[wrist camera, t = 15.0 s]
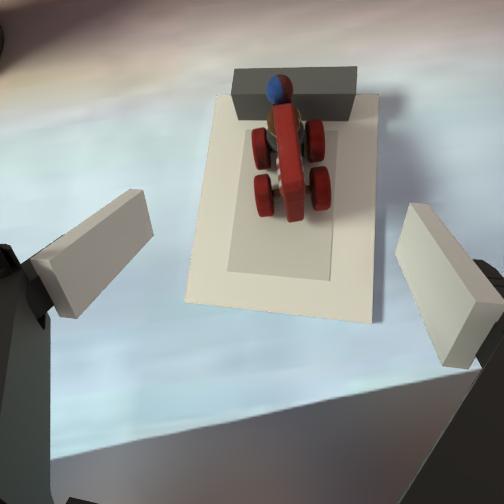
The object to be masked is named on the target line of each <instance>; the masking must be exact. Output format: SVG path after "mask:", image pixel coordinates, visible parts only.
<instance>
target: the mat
mask: <svg viewBox="0 0 504 504" xmlns="http://www.w3.org/2000/svg"><path fill="white" fill-rule="evenodd" d="M378 109H379V94H356V96H355V99H354V103H353V107H352V110H351V114H350V117H349V121H322V122H323V126H324V134H325V157H324V160H323V161H321V162H315V163H309V161H308V159H307V156H302V162H303V170H304V177H305V184H306V185H309V172H310V169H311V168H313V167H319V166H326V167H327V169H328V172H329V176H330V182H331V195H332V196H331V207H330V208H329V209H328V210H322V211H315V210H314V209H313V206H312V202H311V195H309V196H305V199H304V219H303V220H302V221H297V222H291V223H289V222H288V221H287V215H286V209H285V203H284V199H279V200H274V215H273V216H268V217H260V216H259V214H258V211H257V207H256V201H255V194H254V177H255V176H257V175H261V174H268V175H269V177H270V179H271V185H272V190H275V189H279V183H278V173H277V163H276V159H277V156H278V152H276V153H270V156H271V168H269V169H264V170H258V169H257V168H256V166H255V161H254V156H253V149H252V140H251V132H252V130H253V129H256V128H261V127H264V128H266V130H267V129H268V126H267V121H255V120H238V118H237V114H236V111H235V107H234V104H233V100H232V97H231V95H217V96H216V103H215V109H214V115H213V122H212V128H211V134H210V141H209V147H208V153H207V160H206V166H205V173H204V179H203V185H202V192H201V198H200V204H199V211H198V217H197V223H196V230H195V236H194V243H193V249H192V255H191V262H190V268H189V274H188V281H187V287H186V293H185V300H184V302H187V303H196V304H204V305H213V306H222V307H231V308H239V309H248V310H257V311H265V312H274V313H283V314H292V315H300V316H309V317H318V318H326V319H335V320H344V321H353V322H361V323H370V324H372V302H373V270H374V238H375V206H376V173H377V141H378ZM301 122H302V123H303V126H304V129H305V123H306V121H301Z"/></svg>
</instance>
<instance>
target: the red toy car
mask: <svg viewBox="0 0 504 504" xmlns="http://www.w3.org/2000/svg"><path fill="white" fill-rule="evenodd" d="M266 94H267V98H268V100H269V101H270V102H271V103H272V104H273V107H272V108H271V110H270V112H269V114H268V117H267V126H268V129H267V130H266V128H264V127H261V128H256V129H253V130H252V132H251V140H252V149H253V156H254V161H255V166H256V168H257V169H258V170H264V169H269V168H271V156H270V153H276V152H278V156H277V159H276V163H277V173H278V183H279V189H275V190H272V185H271V179H270V177H269V175H268V174H261V175H257V176H255V177H254V194H255V201H256V207H257V211H258V214H259V216H260V217H268V216H273V215H274V200H279V199H284V203H285V209H286V215H287V221H288V222H289V223H291V222H297V221H302V220H303V219H304V199H305V196H309V195H311V202H312V206H313V209H314V210H315V211H322V210H328V209H329V208H330V207H331V196H332V195H331V182H330V176H329V172H328V169H327V167H326V166H319V167H313V168H311V169H310V172H309V185H306V184H305V177H304V170H303V162H302V156H307V159H308V161H309V163H315V162H321V161H323V160H324V157H325V134H324V126H323V122H322V120H321V119H319V118H316V119H310V120H308V121H306V123H305V129H304V126H303V123H302V122H301V115H300V112H299V110H298V109H297V108H296V106H295V105H293V104H292V96H293V85H292V82H291V80H290V79H289V77H287V76H286V75H283V74H277V75H275V76H273V77H272V78H271V79H270V80H269V81H268V84H267V87H266Z"/></svg>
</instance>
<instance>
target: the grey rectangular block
mask: <svg viewBox="0 0 504 504" xmlns="http://www.w3.org/2000/svg"><path fill="white" fill-rule="evenodd" d="M277 74H283V75H286V76H287V77H289V79H290V80H291V82H292V85H293V96H292V104H293V105H295V106H296V108H297V109H298V110H299V112H300V115H301V121H308V120H310V119H316V118H319V119H321V120H322V121H349V117H350V114H351V110H352V107H353V103H354V99H355V96H356V84H357V66H351V67H301V68H251V69H234V76H233V83H232V90H231V97H232V100H233V104H234V107H235V111H236V114H237V118H238V120H255V121H267V117H268V114H269V112H270V110H271V108H272V107H273V104H272V103H271V102H270V101H269V100H268V98H267V94H266V87H267V84H268V81H269V80H270V79H271V78H272V77H273V76H275V75H277Z"/></svg>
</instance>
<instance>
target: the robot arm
mask: <svg viewBox="0 0 504 504" xmlns="http://www.w3.org/2000/svg"><path fill="white" fill-rule="evenodd" d="M2 43H3V33H2V29H1V26H0V52H1V49H2ZM153 236H154V234H153V230H152V226H151V222H150V217H149V213H148V209H147V205H146V200H145V196H144V192H143V190H136V189H129V190H128V191H126V192H125V193H124V194H122V195H121V196H119V197H118V198H116V199H115V200H113V201H112V202H111V203H109V204H108V205H106V206H105V207H103V208H102V209H101V210H99V211H98V212H96V213H95V214H93V215H92V216H91V217H89V218H88V219H86V220H85V221H83V222H82V223H80V224H79V225H78V226H76V227H75V228H73V229H72V230H70V231H69V232H68V233H66V234H64V235H62V236H61V237H59V238H58V239H56V240H55V241H53V243H51V244H49V245H48V246H46V247H45V248H43V249H42V250H40V251H39V252H38V253H36V254H35V255H33V256H32V257H30V258H29V259H27V260H26V261H25V262H23V263H22V264H20V262H19V260H18V259H17V257H16V255H15V253H14V251H13V250H12V248H11V246H10V245H7V244H0V504H54V502H53V499H52V496H51V491H50V317H49V315H48V313H47V311H48V310H49V309H50V308H51V307H52V306H54V307H55V309H56V311H57V312H58V314H59V316H60V317H66V318H74V319H77V318H78V317H79V316H80V315H81V314H82V313H83V312H84V311H85V310H86V308H87V307H88V306H89V305H90V304H91V303H92V302H93V301H94V300H95V299H96V298H97V297H98V295H99V294H100V293H101V292H102V291H103V290H104V289H105V288H106V287H107V286H108V285H109V283H110V282H111V281H112V280H113V279H114V278H115V277H116V276H117V275H118V274H119V273H120V272H121V270H122V269H123V268H124V267H125V266H126V265H127V264H128V263H129V262H130V261H131V260H132V258H133V257H134V256H135V255H136V254H137V253H138V252H139V251H140V250H141V249H142V248H143V247H144V245H145V244H146V243H147V242H148V241H149V240H150V239H151V238H152V237H153ZM395 255H396V257H397V259H398V262H399V264H400V267H401V269H402V271H403V274H404V276H405V279H406V281H407V283H408V286H409V288H410V291H411V293H412V295H413V298H414V300H415V303H416V305H417V307H418V310H419V312H420V315H421V317H422V319H423V322H424V324H425V327H426V329H427V331H428V334H429V336H430V339H431V341H432V343H433V346H434V348H435V351H436V353H437V355H438V358H439V360H440V363H441V365H442V366H446V367H454V368H462V369H469V367H470V366H471V364H472V362H473V361H474V359H475V358H476V357H477V359H478V361H479V363H480V365H481V367H482V370H481V371H480V373H479V374H478V376H477V378H476V379H475V380H474V382H473V383H472V385H471V387H470V388H469V390H468V392H467V393H466V395H465V397H464V398H463V400H462V401H461V403H460V405H459V406H458V408H457V409H456V411H455V413H454V414H453V416H452V417H451V419H450V421H449V422H448V424H447V425H446V427H445V428H444V430H443V432H442V433H441V435H440V436H439V438H438V440H437V441H436V443H435V444H434V446H433V448H432V449H431V451H430V452H429V454H428V456H427V457H426V459H425V460H424V462H423V463H422V465H421V467H420V468H419V470H418V472H417V473H416V475H415V476H414V478H413V479H412V481H411V483H410V484H409V486H408V487H407V489H406V491H405V492H404V494H403V495H402V497H401V499H400V500H399V502H398V503H397V504H504V278H503V277H502V275H501V274H500V273H499V272H498V271H497V270H496V269H495V268H494V267H492V266H491V265H489V264H488V263H486V262H485V261H483V260H476V259H471V257H470V256H469V255H468V254H467V252H466V251H465V250H464V248H463V247H462V246H461V245H460V243H459V242H458V241H457V240H456V238H455V237H454V236H453V235H452V233H451V232H450V231H449V229H448V228H447V227H446V226H445V224H444V223H443V222H442V221H441V219H440V218H439V217H438V216H437V214H436V213H435V212H434V211H433V209H432V208H431V207H430V205H429V204H428V203H410V204H409V207H408V210H407V214H406V217H405V221H404V224H403V228H402V231H401V234H400V238H399V241H398V245H397V248H396V251H395ZM66 504H97V503H93V502H89V501H84V500H80V499H76V498H72V497H69V499H68V501H67V502H66Z"/></svg>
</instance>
